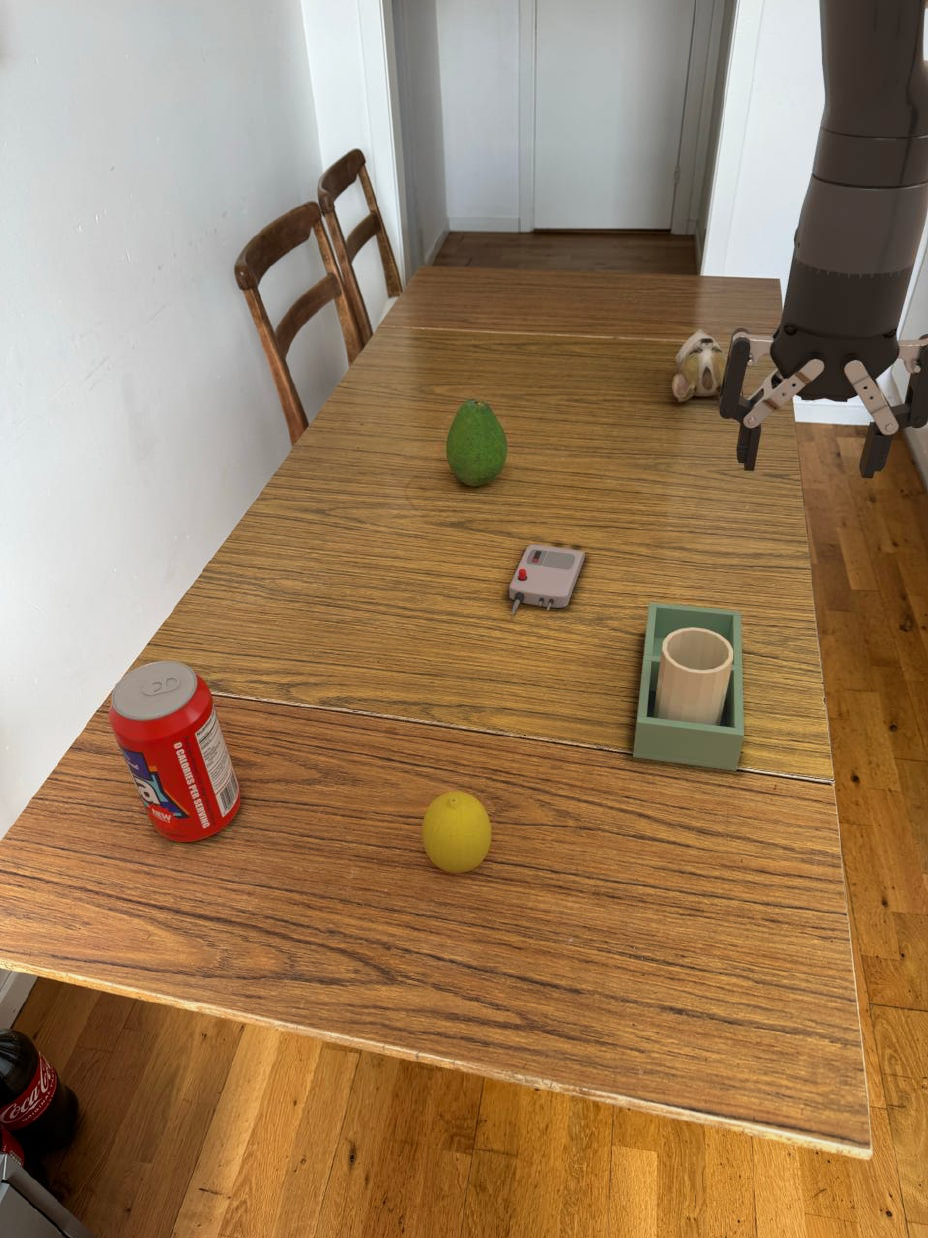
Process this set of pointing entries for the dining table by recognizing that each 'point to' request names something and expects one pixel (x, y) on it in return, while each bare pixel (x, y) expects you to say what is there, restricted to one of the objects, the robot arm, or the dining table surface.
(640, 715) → the holder
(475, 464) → the fruit
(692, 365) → the ceramic sculpture
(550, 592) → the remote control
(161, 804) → the soda can
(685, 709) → the cup
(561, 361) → the dining table surface
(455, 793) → the lemon
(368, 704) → the dining table surface
